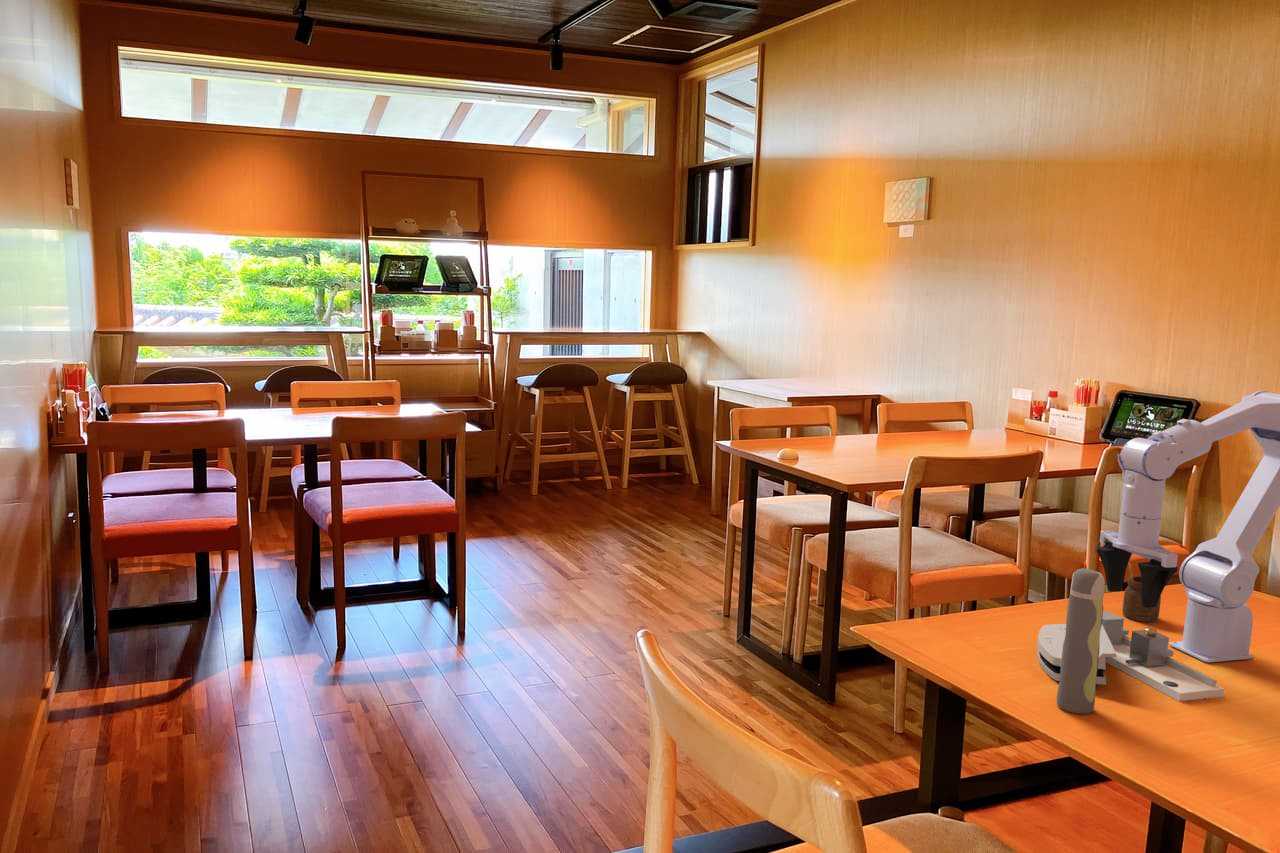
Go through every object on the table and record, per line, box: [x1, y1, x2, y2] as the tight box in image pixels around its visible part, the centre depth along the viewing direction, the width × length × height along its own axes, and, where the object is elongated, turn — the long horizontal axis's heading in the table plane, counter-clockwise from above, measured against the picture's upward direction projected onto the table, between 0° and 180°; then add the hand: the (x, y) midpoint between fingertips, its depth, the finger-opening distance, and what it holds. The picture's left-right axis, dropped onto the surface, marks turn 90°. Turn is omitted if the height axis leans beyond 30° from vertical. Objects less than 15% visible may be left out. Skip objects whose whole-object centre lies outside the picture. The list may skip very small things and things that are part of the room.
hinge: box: [1036, 623, 1116, 686], centre depth 153 cm, size 17×5×10 cm
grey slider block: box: [1126, 626, 1174, 667], centre depth 153 cm, size 4×7×5 cm, turn 106°
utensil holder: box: [1122, 559, 1162, 623], centre depth 178 cm, size 6×6×12 cm
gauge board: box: [1102, 610, 1226, 702], centre depth 153 cm, size 22×8×6 cm, turn 16°
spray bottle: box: [1056, 567, 1106, 715], centre depth 137 cm, size 5×5×20 cm
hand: (1131, 598), depth 157 cm, fingers open, 7 cm apart
